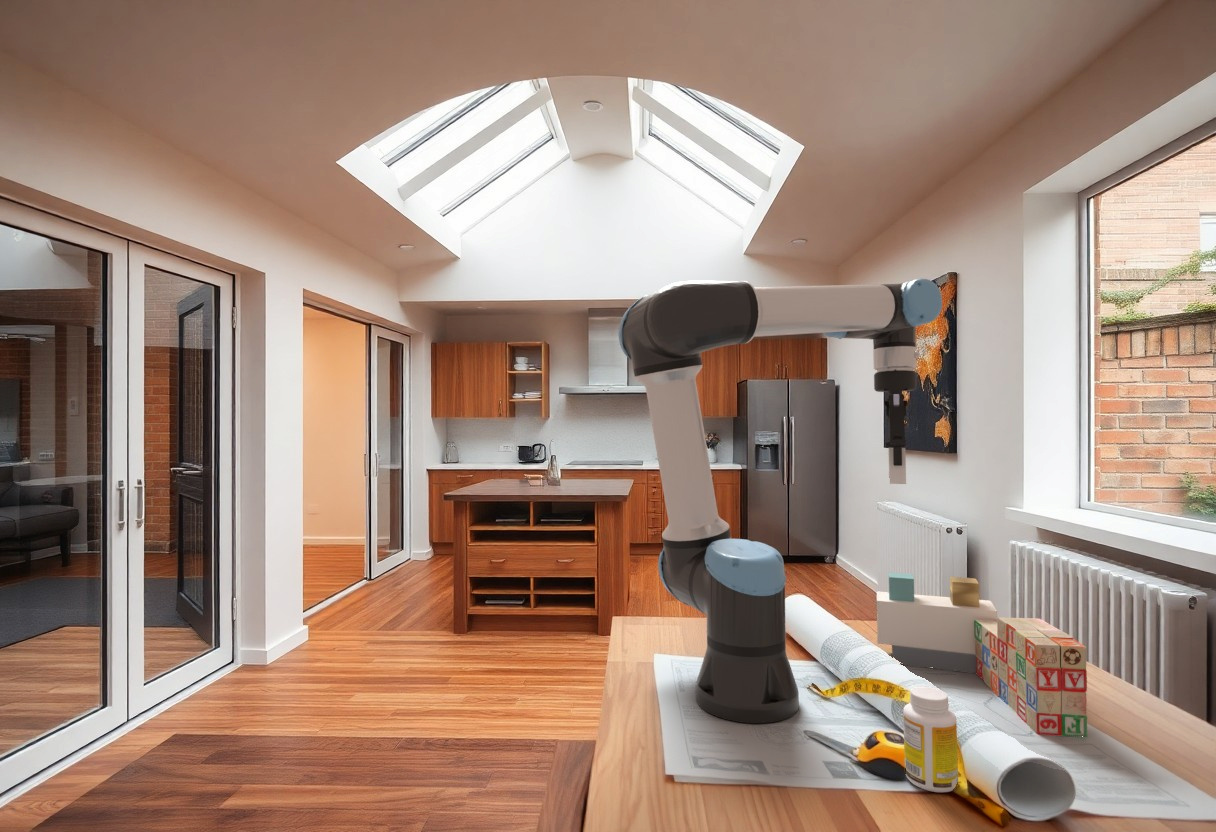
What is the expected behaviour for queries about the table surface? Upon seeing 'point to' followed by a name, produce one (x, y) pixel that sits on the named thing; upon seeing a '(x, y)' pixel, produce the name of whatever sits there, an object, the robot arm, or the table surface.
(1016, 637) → the stack of blocks
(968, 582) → the golden brown cube
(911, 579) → the teal cube
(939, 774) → the supplement bottle
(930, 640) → the off-white rectangular block
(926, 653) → the block
